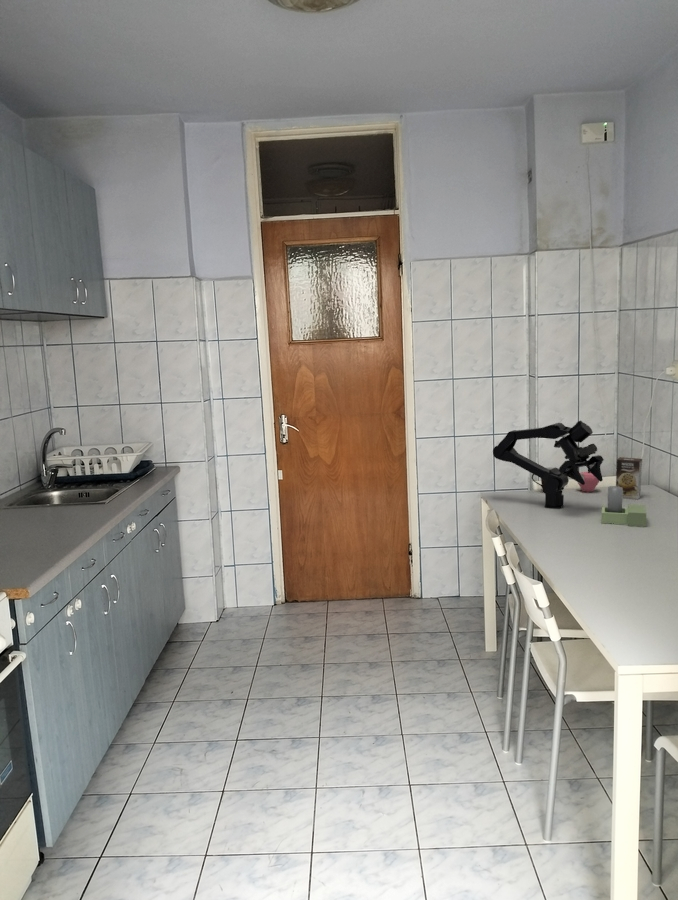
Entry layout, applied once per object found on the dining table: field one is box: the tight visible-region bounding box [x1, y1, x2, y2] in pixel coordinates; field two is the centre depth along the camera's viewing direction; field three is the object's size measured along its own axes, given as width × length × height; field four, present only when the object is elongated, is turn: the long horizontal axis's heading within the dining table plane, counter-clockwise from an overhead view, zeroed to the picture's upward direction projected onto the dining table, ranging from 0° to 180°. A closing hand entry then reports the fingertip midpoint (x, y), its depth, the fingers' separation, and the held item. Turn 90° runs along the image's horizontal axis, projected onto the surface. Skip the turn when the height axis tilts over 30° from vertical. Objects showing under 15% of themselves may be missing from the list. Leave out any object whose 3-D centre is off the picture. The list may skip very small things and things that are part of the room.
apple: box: [577, 468, 600, 493], centre depth 316 cm, size 10×9×10 cm
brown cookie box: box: [615, 456, 643, 500], centre depth 303 cm, size 9×6×16 cm
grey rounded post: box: [607, 485, 623, 513], centre depth 269 cm, size 5×5×12 cm
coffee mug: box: [531, 466, 559, 493], centre depth 318 cm, size 12×9×10 cm
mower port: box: [600, 504, 647, 528], centre depth 269 cm, size 15×12×5 cm
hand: (593, 482), depth 277 cm, fingers open, 9 cm apart
